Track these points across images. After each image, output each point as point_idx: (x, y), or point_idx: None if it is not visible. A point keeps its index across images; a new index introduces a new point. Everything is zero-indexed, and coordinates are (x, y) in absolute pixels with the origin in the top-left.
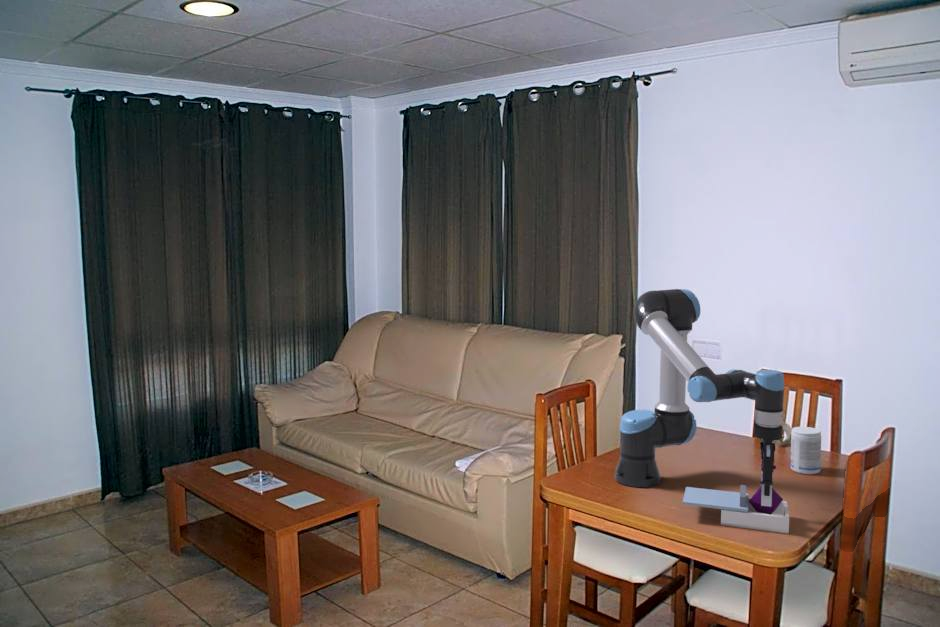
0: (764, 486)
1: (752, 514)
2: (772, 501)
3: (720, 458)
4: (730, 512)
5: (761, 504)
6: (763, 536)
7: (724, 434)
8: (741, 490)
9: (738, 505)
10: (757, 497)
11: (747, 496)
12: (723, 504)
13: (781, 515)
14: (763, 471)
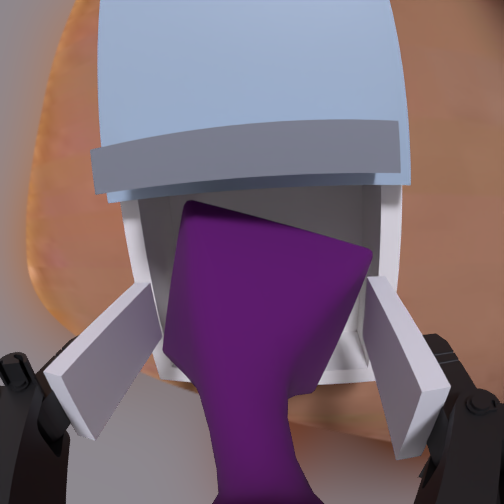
0: (37, 375)
1: (126, 221)
2: (170, 355)
3: None
4: None
5: (133, 287)
6: (111, 253)
7: None
8: (236, 136)
9: (143, 137)
10: (181, 270)
11: (351, 179)
12: (126, 53)
13: (347, 325)
14: None
